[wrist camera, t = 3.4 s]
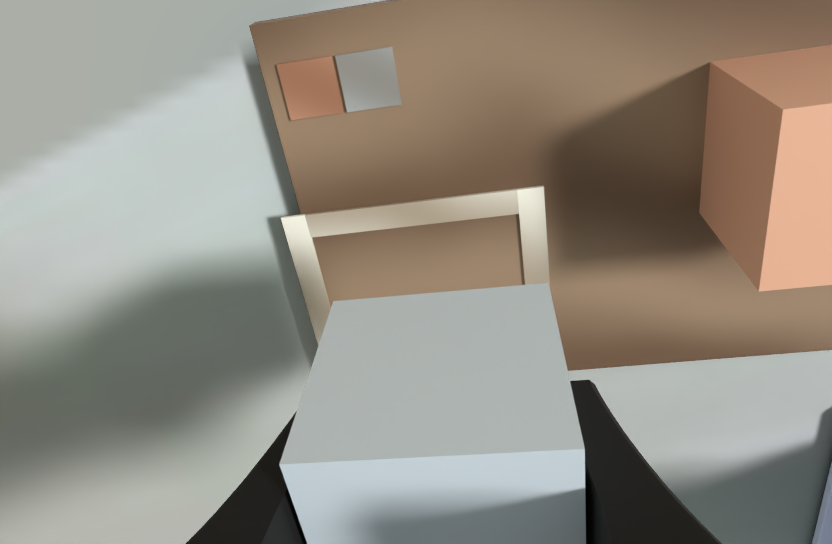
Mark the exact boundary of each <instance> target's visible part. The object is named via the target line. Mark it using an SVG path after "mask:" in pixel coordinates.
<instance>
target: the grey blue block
mask: <svg viewBox="0 0 832 544" xmlns="http://www.w3.org/2000/svg"><path fill="white" fill-rule="evenodd" d="M279 465H280V468H281V471H282V474H283V477H284V479H285V482H286V485H287V488H288V491H289V493H290V496H291V499H292V502H293V505H294V508H295V510H296V513H297V516H298V519H299V522H300V525H301V527H302V530H303V533H304V536H305V539H306V541H307V544H586V503H585V448H584V443H583V438H582V434H581V429H580V425H579V420H578V415H577V411H576V406H575V402H574V397H573V393H572V388H571V383H570V379H569V374H568V370H567V365H566V361H565V356H564V351H563V347H562V342H561V338H560V333H559V329H558V324H557V319H556V315H555V310H554V306H553V301H552V296H551V292H550V287H549V283H541V284H529V285H518V286H506V287H494V288H482V289H471V290H459V291H447V292H436V293H424V294H412V295H401V296H389V297H377V298H365V299H354V300H342V301H333V304H332V307H331V310H330V313H329V316H328V319H327V322H326V325H325V328H324V331H323V334H322V337H321V340H320V343H319V346H318V349H317V352H316V355H315V358H314V361H313V364H312V367H311V370H310V373H309V376H308V379H307V382H306V385H305V388H304V391H303V394H302V397H301V400H300V403H299V406H298V409H297V412H296V415H295V418H294V421H293V424H292V427H291V430H290V434H289V437H288V440H287V443H286V446H285V449H284V452H283V455H282V458H281V461H280V464H279Z"/></svg>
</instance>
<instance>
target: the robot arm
mask: <svg viewBox="0 0 832 544" xmlns="http://www.w3.org/2000/svg"><path fill="white" fill-rule="evenodd" d="M570 383H571V388H572V393H573V397H574V402H575V406H576V411H577V415H578V420H579V425H580V429H581V434H582V438H583V443H584V448H585V503H586V544H722V543H721V542H720V541H718V540H717V539H716V538H715V537H714V536H713V535H712V534H711V533H710V532H709V531H708V530H707V529H706V528H705V527H704V526H703V525H702V524H701V523H700V522H699V521H698V520H697V519H696V518H695V517H694V515H693V514H692V513H691V512H690V511H689V510H688V509H687V508H686V507H685V506H684V505H683V504H682V503H681V501H680V500H679V499H678V498H677V497H676V496H675V495H674V494H673V492H672V491H671V490H670V489H669V488H668V487H667V486H666V484H665V483H664V482H663V481H662V480H661V479H660V477H659V476H658V475H657V474H656V473H655V471H654V470H653V469H652V468H651V466H650V465H649V464H648V463H647V461H646V460H645V459H644V458H643V456H642V455H641V454H640V452H639V451H638V450H637V448H636V447H635V446H634V444H633V443H632V442H631V441H630V439H629V438H628V436H627V435H626V434H625V432H624V431H623V429H622V428H621V427H620V425H619V424H618V422H617V421H616V419H615V418H614V416H613V415H612V413H611V412H610V410H609V408H608V407H607V405H606V404H605V402H604V400H603V399H602V397H601V395H600V393H599V392H598V390H597V388H596V386H595V384H594V383H592V382H591V381H590V380H580V381H570ZM296 412H297V411H296ZM295 415H296V413H295V414H294V416H293V417H292V418H291V420H290V421H289V422H288V424H287V425H286V426H285V428H284V429H283V430H282V432H281V433H280V434H279V436H278V437H277V438H276V440H275V441H274V442H273V444H272V445H271V446H270V448H269V449H268V450H267V452H266V453H265V454H264V455H263V457H262V458H261V459H260V460H259V462H258V463H257V464H256V465H255V467H254V468H253V469H252V470H251V472H250V473H249V474H248V476H247V477H246V478H245V479H244V480H243V482H242V483H241V484H240V485H239V486H238V487H237V489H236V490H235V491H234V492H233V493H232V494H231V496H230V497H229V498H228V499H227V500H226V501H225V502H224V504H223V505H222V506H221V507H220V508H219V509H218V510H217V512H216V513H215V514H214V515H213V516H212V517H211V518H210V519H209V520H208V521H207V522H206V523H205V525H204V526H203V527H202V528H201V529H200V530H199V531H198V532H197V533H196V534H195V535H194V536H193V537H192V538H191V539H190V540H189V541H188V542H187V543H186V544H307V541H306V539H305V536H304V533H303V530H302V527H301V525H300V522H299V519H298V516H297V513H296V510H295V508H294V505H293V502H292V499H291V496H290V493H289V491H288V488H287V485H286V482H285V479H284V477H283V474H282V471H281V468H280V465H279V464H280V461H281V458H282V455H283V452H284V449H285V446H286V443H287V440H288V437H289V434H290V430H291V427H292V424H293V421H294V418H295ZM812 544H832V463H831V467H830V471H829V475H828V479H827V483H826V488H825V492H824V496H823V500H822V504H821V508H820V513H819V517H818V521H817V525H816V529H815V533H814V538H813V542H812Z"/></svg>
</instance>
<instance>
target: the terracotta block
mask: <svg viewBox="0 0 832 544" xmlns="http://www.w3.org/2000/svg"><path fill="white" fill-rule="evenodd" d="M699 213H700V215H701V216H702V217H703V218H704V220H705V221H706V222H707V224H708V225H709V226H710V228H711V229H712V230H713V232H714V233H715V234H716V236H717V237H718V238H719V240H720V241H721V242H722V244H723V245H724V246H725V248H726V249H727V250H728V252H729V253H730V254H731V256H732V257H733V258H734V260H735V261H736V262H737V263H738V265H739V266H740V267H741V269H742V270H743V271H744V273H745V274H746V275H747V277H748V278H749V279H750V281H751V282H752V283H753V285H754V286H755V287H756V289H757V290H758V291H759V292H760V291H771V290H782V289H792V288H803V287H814V286H825V285H832V45H828V46H821V47H814V48H807V49H800V50H792V51H785V52H778V53H771V54H764V55H757V56H750V57H743V58H736V59H729V60H721V61H714V62H710V71H709V85H708V99H707V112H706V126H705V140H704V154H703V167H702V181H701V195H700V209H699Z"/></svg>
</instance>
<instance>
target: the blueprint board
mask: <svg viewBox="0 0 832 544" xmlns="http://www.w3.org/2000/svg"><path fill="white" fill-rule="evenodd" d="M249 27H250V30H251V34H252V38H253V41H254V45H255V49H256V52H257V56H258V60H259V63H260V67H261V71H262V74H263V78H264V82H265V85H266V89H267V92H268V96H269V100H270V103H271V107H272V111H273V114H274V118H275V122H276V125H277V129H278V133H279V136H280V140H281V144H282V147H283V151H284V154H285V158H286V162H287V165H288V169H289V173H290V176H291V180H292V184H293V187H294V191H295V195H296V198H297V202H298V205H299V209H300V213H301V215H293V216H285V217H281V221H282V224H283V228H284V231H285V234H286V238H287V241H288V245H289V248H290V251H291V255H292V258H293V262H294V265H295V269H296V272H297V275H298V279H299V282H300V286H301V289H302V292H303V296H304V299H305V303H306V306H307V310H308V313H309V316H310V320H311V323H312V327H313V330H314V333H315V337H316V340H317V344H318V346H319V343H320V340H321V337H322V334H323V331H324V328H325V325H326V322H327V319H328V316H329V313H330V310H331V307H332V304H333V301H342V300H354V299H365V298H377V297H389V296H401V295H412V294H424V293H436V292H447V291H459V290H471V289H482V288H494V287H506V286H518V285H529V284H541V283H549V287H550V292H551V296H552V301H553V306H554V310H555V315H556V319H557V324H558V329H559V333H560V338H561V342H562V347H563V351H564V356H565V361H566V365H567V370H568V371H570V370H582V369H595V368H607V367H620V366H633V365H645V364H658V363H670V362H683V361H695V360H708V359H721V358H733V357H746V356H758V355H771V354H784V353H796V352H809V351H821V350H832V285H825V286H814V287H803V288H792V289H782V290H771V291H760V292H759V291H758V290H757V289H756V287H755V286H754V285H753V283H752V282H751V281H750V279H749V278H748V277H747V275H746V274H745V273H744V271H743V270H742V269H741V267H740V266H739V265H738V263H737V262H736V261H735V260H734V258H733V257H732V256H731V254H730V253H729V252H728V250H727V249H726V248H725V246H724V245H723V244H722V242H721V241H720V240H719V238H718V237H717V236H716V234H715V233H714V232H713V230H712V229H711V228H710V226H709V225H708V224H707V222H706V221H705V220H704V218H703V217H702V216H701V215H700V213H699V209H700V195H701V181H702V167H703V154H704V140H705V126H706V112H707V99H708V85H709V71H710V62H714V61H721V60H729V59H736V58H743V57H750V56H757V55H764V54H771V53H778V52H785V51H792V50H800V49H807V48H814V47H821V46H828V45H832V0H387V1H381V2H375V3H369V4H363V5H357V6H351V7H345V8H338V9H332V10H326V11H320V12H314V13H308V14H302V15H296V16H290V17H284V18H278V19H272V20H266V21H259V22H255V23H254V24H252V25H250V26H249Z"/></svg>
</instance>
